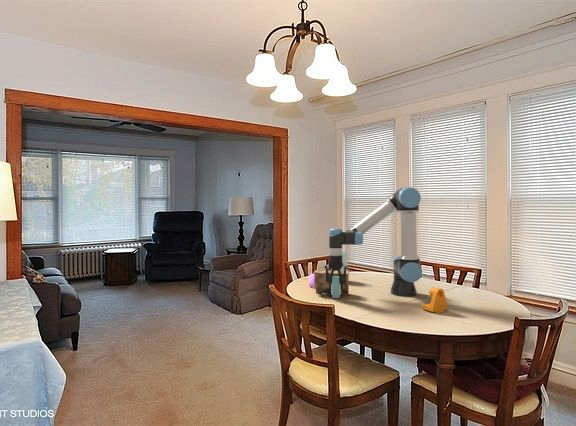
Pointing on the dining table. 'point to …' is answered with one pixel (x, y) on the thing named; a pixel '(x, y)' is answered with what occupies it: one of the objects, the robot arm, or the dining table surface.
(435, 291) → the bracket
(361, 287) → the dining table surface
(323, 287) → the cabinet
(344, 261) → the vase
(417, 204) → the robot arm
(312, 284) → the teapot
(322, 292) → the token
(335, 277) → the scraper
